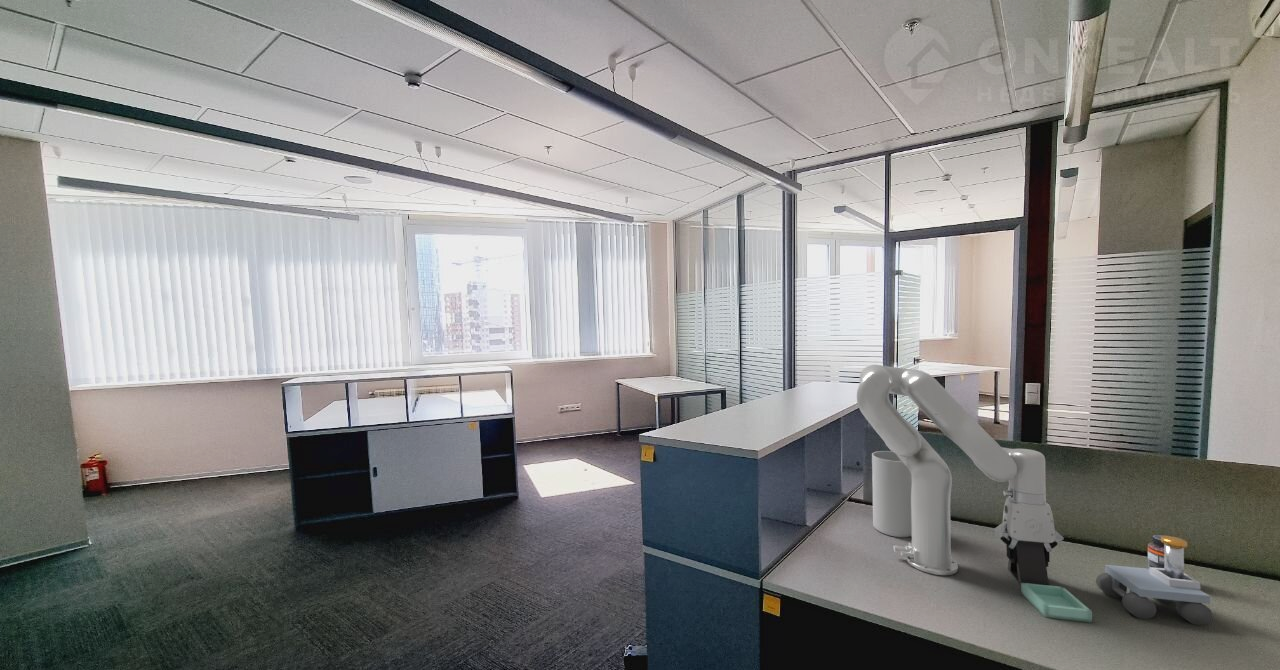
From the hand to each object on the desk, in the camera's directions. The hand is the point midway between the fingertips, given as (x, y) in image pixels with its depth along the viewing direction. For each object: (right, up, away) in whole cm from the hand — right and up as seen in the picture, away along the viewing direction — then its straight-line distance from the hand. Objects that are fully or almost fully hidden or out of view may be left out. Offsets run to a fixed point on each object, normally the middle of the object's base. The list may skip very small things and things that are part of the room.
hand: (1027, 562), depth 121 cm
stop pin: (+22, +3, -14) cm, 27 cm away
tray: (-4, -5, -12) cm, 13 cm away
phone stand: (0, -5, 0) cm, 5 cm away
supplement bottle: (+35, -4, -2) cm, 35 cm away
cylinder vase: (-19, -5, +31) cm, 36 cm away
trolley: (+18, -4, -13) cm, 23 cm away
